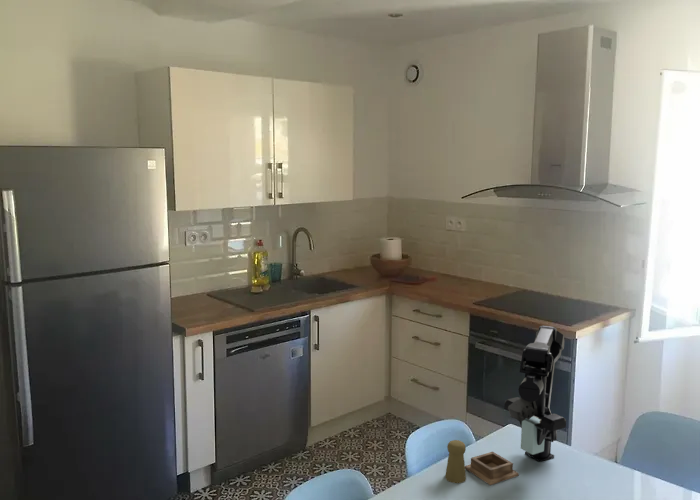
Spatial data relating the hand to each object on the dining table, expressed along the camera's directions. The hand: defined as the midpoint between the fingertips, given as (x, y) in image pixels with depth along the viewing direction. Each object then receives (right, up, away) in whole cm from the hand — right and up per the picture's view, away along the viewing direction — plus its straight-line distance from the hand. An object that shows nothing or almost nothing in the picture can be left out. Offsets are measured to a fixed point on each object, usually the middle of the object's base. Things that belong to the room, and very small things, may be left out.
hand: (532, 441), depth 176 cm
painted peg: (0, -3, 0) cm, 3 cm away
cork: (-22, -11, 0) cm, 25 cm away
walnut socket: (-11, -10, +4) cm, 16 cm away
